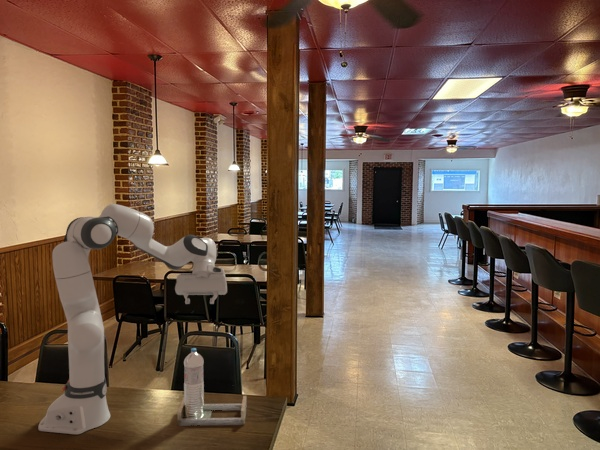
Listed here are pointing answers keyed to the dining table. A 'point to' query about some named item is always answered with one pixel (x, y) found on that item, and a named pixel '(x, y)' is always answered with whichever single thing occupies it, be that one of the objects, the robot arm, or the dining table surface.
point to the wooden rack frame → (207, 413)
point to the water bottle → (193, 385)
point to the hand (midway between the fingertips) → (199, 303)
